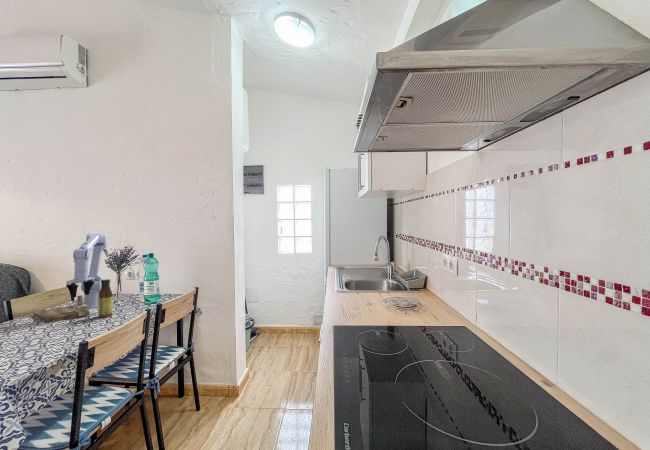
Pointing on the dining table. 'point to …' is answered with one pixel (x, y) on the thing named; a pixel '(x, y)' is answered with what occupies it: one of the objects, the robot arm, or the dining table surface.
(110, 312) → the yellow labelled brown bottle
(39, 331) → the dining table surface
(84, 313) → the cream block
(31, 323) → the dining table surface
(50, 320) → the board
